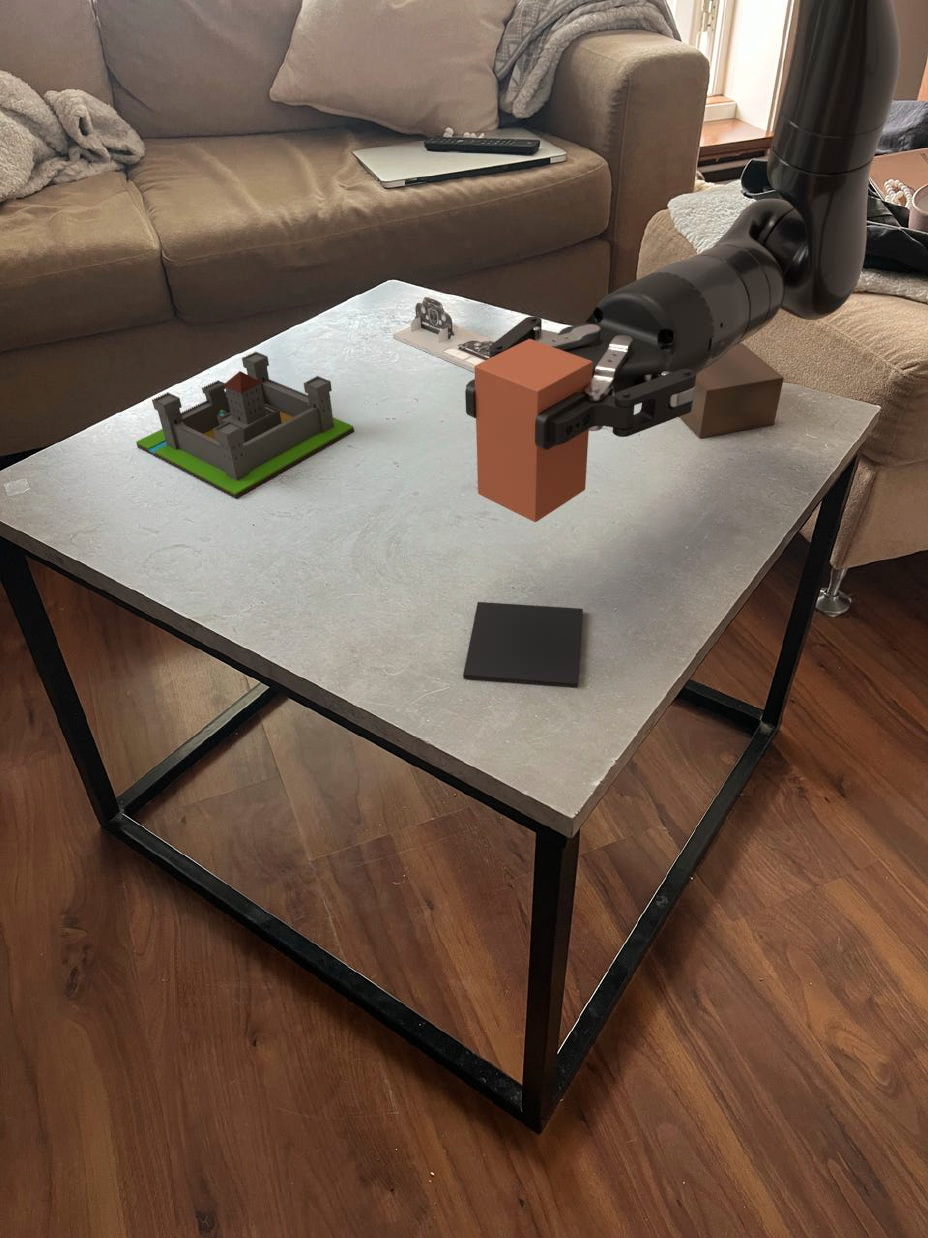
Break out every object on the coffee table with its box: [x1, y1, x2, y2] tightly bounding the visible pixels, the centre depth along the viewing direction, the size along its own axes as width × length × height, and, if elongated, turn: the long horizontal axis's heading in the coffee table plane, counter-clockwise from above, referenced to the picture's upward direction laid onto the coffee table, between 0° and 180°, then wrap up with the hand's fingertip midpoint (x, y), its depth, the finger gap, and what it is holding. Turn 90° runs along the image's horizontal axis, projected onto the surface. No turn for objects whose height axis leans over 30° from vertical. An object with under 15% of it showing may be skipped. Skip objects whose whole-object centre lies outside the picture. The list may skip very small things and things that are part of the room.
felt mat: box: [462, 601, 584, 688], centre depth 67 cm, size 8×8×1 cm
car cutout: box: [392, 296, 497, 373], centre depth 104 cm, size 15×7×4 cm, turn 45°
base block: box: [679, 342, 785, 439], centre depth 91 cm, size 8×8×5 cm
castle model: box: [135, 351, 355, 499], centre depth 89 cm, size 15×15×7 cm
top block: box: [474, 339, 593, 523], centre depth 58 cm, size 5×5×9 cm
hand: (504, 417), depth 55 cm, fingers closed on top block, 5 cm apart
